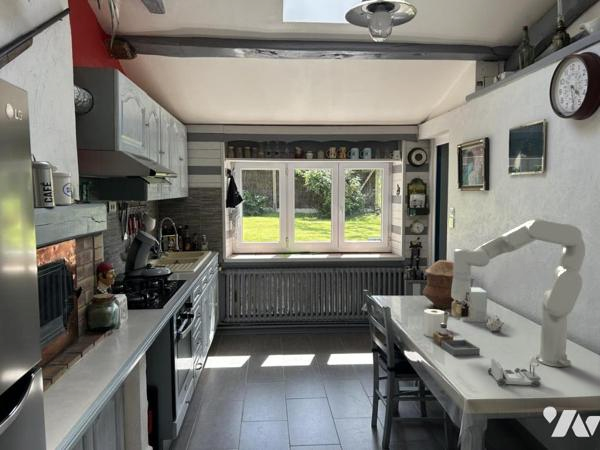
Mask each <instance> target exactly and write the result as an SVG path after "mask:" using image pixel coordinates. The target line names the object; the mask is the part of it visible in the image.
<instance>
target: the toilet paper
mask: <svg viewBox="0 0 600 450" xmlns="http://www.w3.org/2000/svg"><path fill="white" fill-rule="evenodd" d="M441 323H444V310H441V309H434V308H431V309H430V308H427V309H424V310H423V335H424V336H425V337H426V336H427V337H431V338H433V333H434V332H441V327H440V325H441Z"/></svg>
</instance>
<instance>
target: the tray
mask: <svg viewBox="0 0 600 450" xmlns="http://www.w3.org/2000/svg"><path fill="white" fill-rule="evenodd" d="M440 347H441V349H443V350H445V351H446V352H447V353H449V354H450V355H451V354H452V356H453V357H465V356H467V357H468V356H480V350H481V349H480V347H478V346H477V345H475V344H473V343H471V342H470V341H469V340H467V339H453V340H445V341H441V346H440Z"/></svg>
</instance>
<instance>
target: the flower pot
mask: <svg viewBox="0 0 600 450" xmlns="http://www.w3.org/2000/svg"><path fill="white" fill-rule="evenodd" d="M443 311H444V310H443ZM450 314H451V313H450V312H448V311H444V323H447V324H448V320H449V315H450Z"/></svg>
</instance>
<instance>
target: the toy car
mask: <svg viewBox="0 0 600 450" xmlns="http://www.w3.org/2000/svg"><path fill="white" fill-rule="evenodd" d="M538 358H539V357H537V358H536V357H534V356H533V355H530V358H529V371H528V370H527V369H525V368H522V369H520V368H519V367H517V368H515V369H514V371H512V370H511V369H505V368H504V367H503V366H502V365H501V364H500V363H499V362H498V361H497V360H496V359H495V358H490V359H491V360H490V361H491V362H490V367H489V368H488V369H487V373H488V374H489V375H491V376H493V377H494V378H495V380H496V381H497V383H496V384H497V385H498V386H499V387H505V386H506V385H524V386H526V385H527V386H531V387H532V388H536V387H537V388H540V387H541V382H540V381H541V377H540V376H539V375H538V374H537V373H536V372H535V370H536V369H535V368H537V367H539V366H540V364H541V363H540V362H538V361H537V359H538ZM532 369H533V370H532Z"/></svg>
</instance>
